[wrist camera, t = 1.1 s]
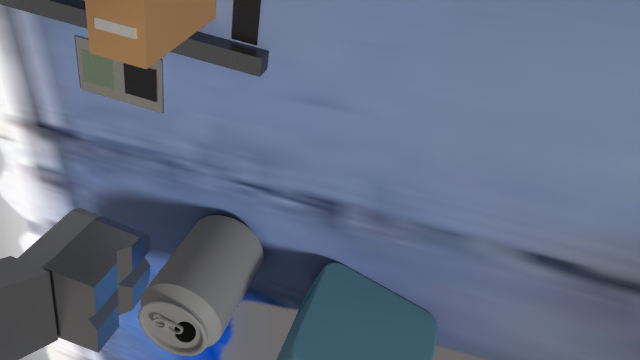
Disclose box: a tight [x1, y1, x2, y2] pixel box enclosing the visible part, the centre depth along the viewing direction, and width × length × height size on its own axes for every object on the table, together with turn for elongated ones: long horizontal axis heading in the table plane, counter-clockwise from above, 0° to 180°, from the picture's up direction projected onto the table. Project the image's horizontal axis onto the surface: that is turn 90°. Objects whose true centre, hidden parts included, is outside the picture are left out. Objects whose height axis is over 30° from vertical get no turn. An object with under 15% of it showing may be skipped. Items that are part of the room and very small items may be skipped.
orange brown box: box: [85, 0, 216, 69], centre depth 40 cm, size 4×4×10 cm
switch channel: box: [0, 0, 269, 113], centre depth 45 cm, size 24×17×4 cm
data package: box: [277, 262, 438, 360], centre depth 52 cm, size 12×4×12 cm, turn 66°
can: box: [138, 215, 263, 356], centre depth 53 cm, size 8×8×12 cm
